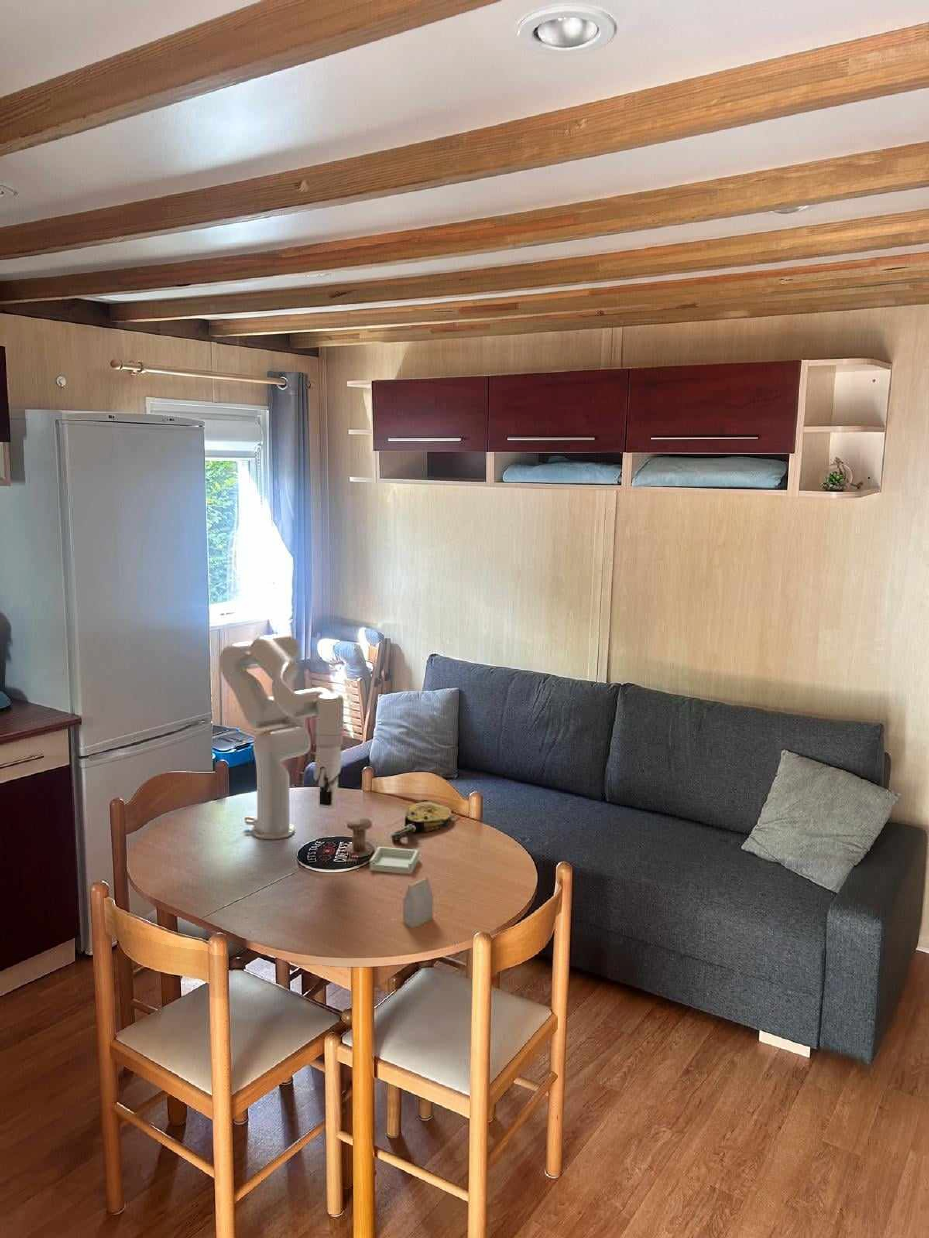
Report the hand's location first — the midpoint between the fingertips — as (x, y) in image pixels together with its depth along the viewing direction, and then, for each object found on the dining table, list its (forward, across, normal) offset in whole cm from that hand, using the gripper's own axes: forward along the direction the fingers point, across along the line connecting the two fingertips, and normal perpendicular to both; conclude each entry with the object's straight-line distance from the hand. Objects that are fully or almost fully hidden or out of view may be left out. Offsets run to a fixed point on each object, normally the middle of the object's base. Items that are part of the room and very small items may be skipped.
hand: (328, 801), depth 264 cm
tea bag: (+17, +30, +33) cm, 48 cm away
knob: (+17, -6, +7) cm, 20 cm away
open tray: (+17, 0, +20) cm, 26 cm away
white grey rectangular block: (+1, 0, 0) cm, 1 cm away
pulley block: (+17, -29, +20) cm, 39 cm away
